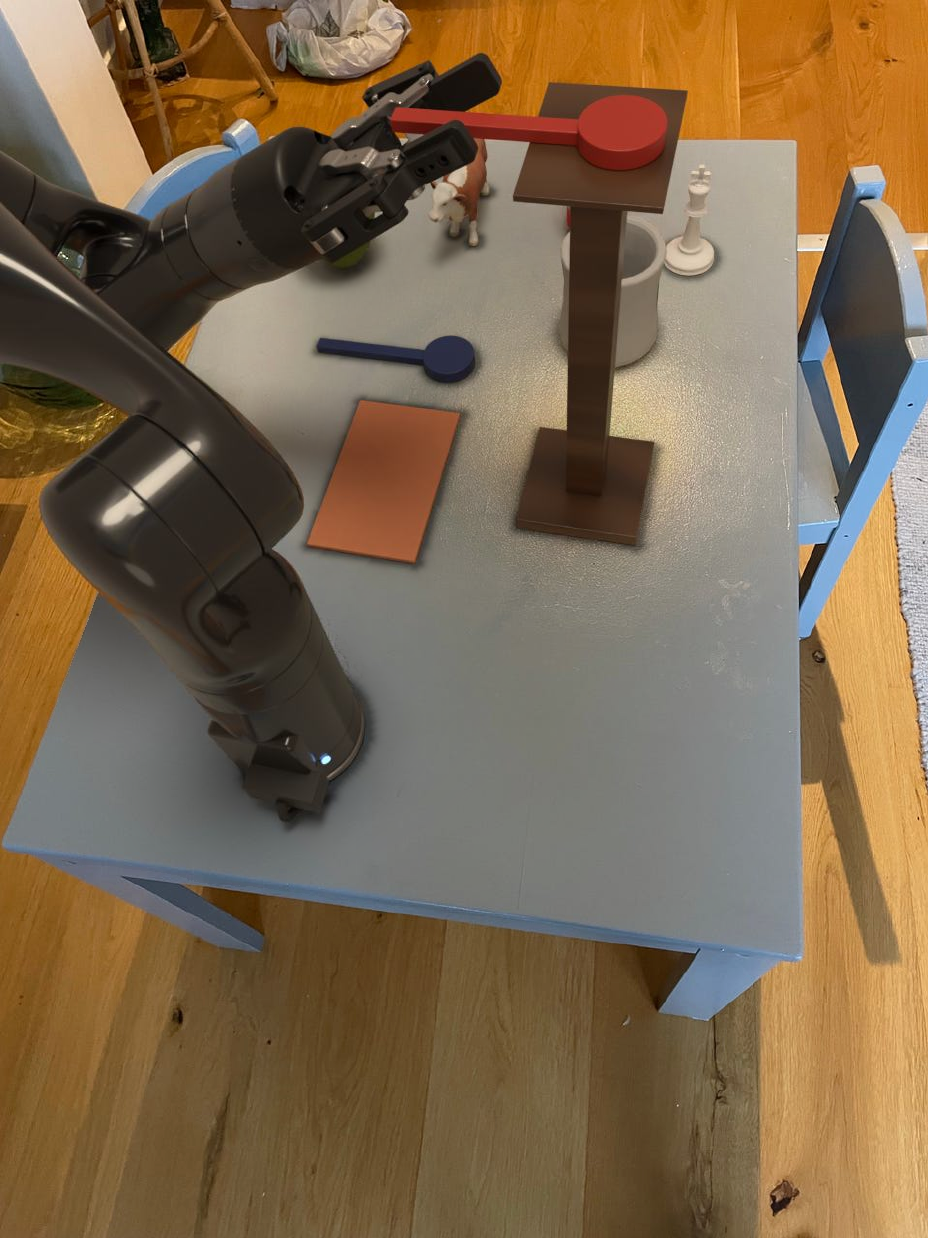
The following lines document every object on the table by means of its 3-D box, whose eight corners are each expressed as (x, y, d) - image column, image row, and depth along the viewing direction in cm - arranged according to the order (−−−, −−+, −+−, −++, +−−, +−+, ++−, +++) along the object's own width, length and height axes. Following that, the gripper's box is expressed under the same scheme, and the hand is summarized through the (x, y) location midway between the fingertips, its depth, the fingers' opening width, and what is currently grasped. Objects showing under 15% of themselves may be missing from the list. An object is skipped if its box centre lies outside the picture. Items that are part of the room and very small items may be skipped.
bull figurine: (429, 266, 94) (418, 196, 87) (460, 179, 100) (453, 106, 92) (471, 271, 93) (464, 200, 86) (500, 182, 99) (496, 109, 92)
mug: (674, 351, 86) (687, 263, 77) (584, 385, 85) (587, 299, 76) (614, 267, 91) (621, 177, 83) (529, 298, 90) (527, 209, 82)
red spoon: (658, 174, 49) (661, 153, 48) (383, 152, 52) (379, 132, 51) (671, 117, 52) (673, 96, 50) (405, 100, 54) (402, 80, 53)
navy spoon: (468, 385, 86) (467, 376, 85) (312, 366, 89) (309, 357, 88) (480, 347, 88) (479, 338, 87) (327, 329, 91) (324, 320, 90)
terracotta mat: (415, 563, 77) (414, 561, 77) (307, 546, 79) (306, 543, 78) (460, 415, 84) (460, 412, 84) (361, 402, 86) (360, 399, 86)
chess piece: (711, 277, 90) (728, 186, 81) (660, 273, 90) (671, 182, 82) (715, 242, 92) (732, 149, 83) (665, 239, 93) (676, 146, 84)
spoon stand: (635, 545, 76) (683, 209, 48) (516, 527, 78) (494, 193, 50) (653, 450, 80) (705, 90, 52) (539, 435, 82) (531, 80, 54)
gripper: (190, 244, 55) (406, 127, 45) (269, 95, 62) (474, -36, 52) (277, 332, 60) (489, 245, 50) (342, 186, 67) (542, 83, 57)
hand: (480, 103), depth 51 cm, fingers open, 5 cm apart
